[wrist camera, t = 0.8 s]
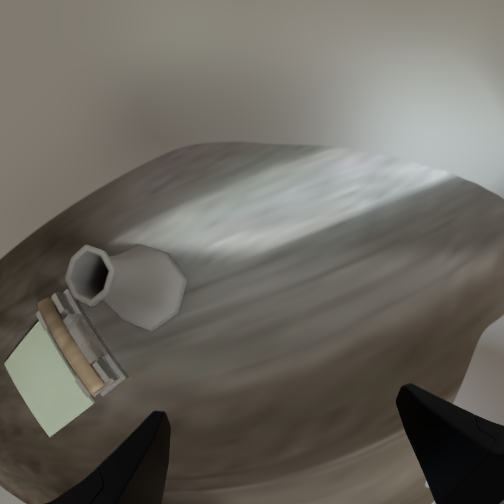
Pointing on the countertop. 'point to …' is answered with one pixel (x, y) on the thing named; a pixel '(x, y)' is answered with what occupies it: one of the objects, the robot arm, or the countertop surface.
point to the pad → (46, 381)
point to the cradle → (87, 342)
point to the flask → (128, 283)
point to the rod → (69, 346)
